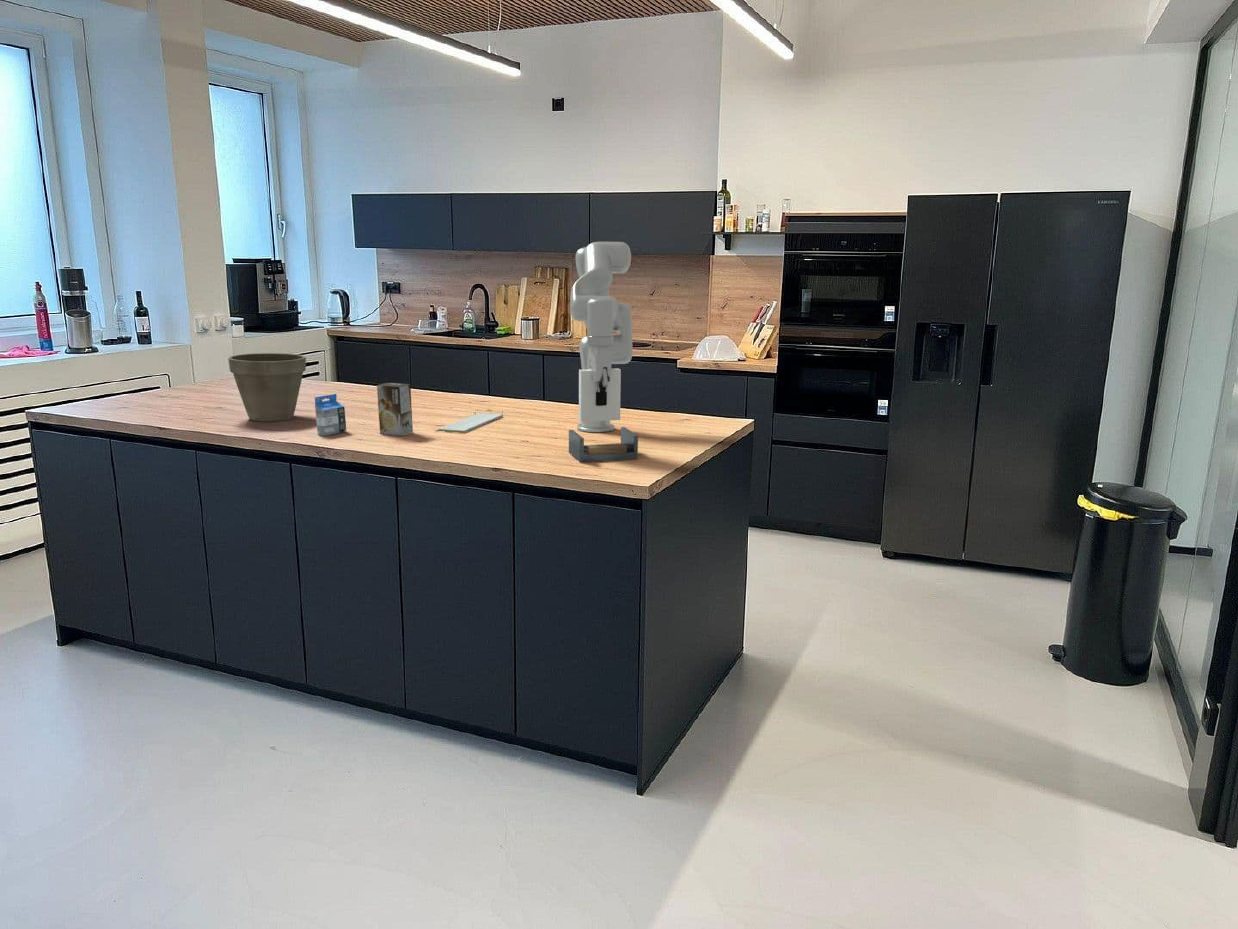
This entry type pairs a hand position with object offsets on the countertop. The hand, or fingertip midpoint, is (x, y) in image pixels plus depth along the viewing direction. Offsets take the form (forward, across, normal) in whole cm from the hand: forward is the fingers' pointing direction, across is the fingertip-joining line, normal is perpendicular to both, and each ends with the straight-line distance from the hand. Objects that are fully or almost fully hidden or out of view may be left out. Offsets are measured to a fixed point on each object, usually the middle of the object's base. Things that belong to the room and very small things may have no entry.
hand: (599, 403), depth 255 cm
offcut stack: (+15, +7, -1) cm, 16 cm away
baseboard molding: (+17, -54, -31) cm, 65 cm away
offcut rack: (+15, +4, 0) cm, 15 cm away
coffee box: (+16, -43, -56) cm, 73 cm away
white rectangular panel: (+5, 0, 0) cm, 5 cm away
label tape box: (+16, -48, -76) cm, 91 cm away
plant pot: (+16, -80, -96) cm, 126 cm away
